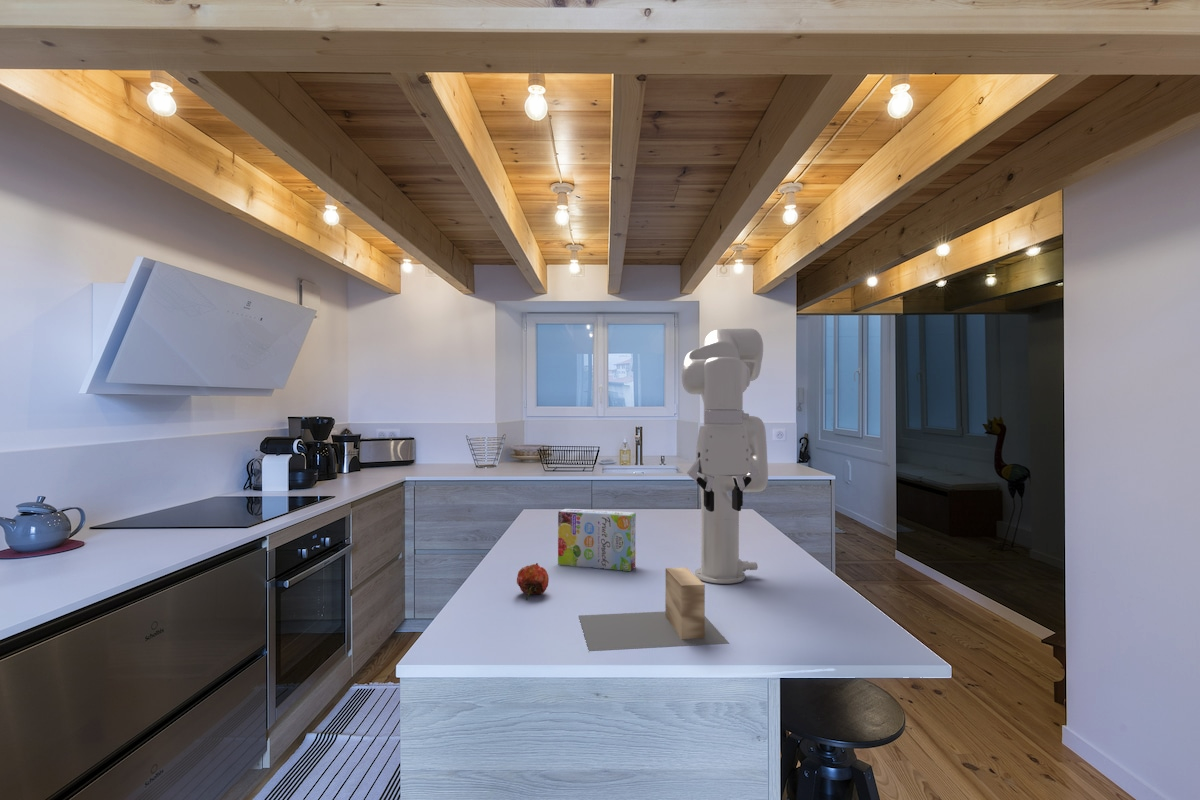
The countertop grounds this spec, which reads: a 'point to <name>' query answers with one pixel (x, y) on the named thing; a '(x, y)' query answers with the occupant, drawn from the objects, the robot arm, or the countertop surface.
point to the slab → (685, 603)
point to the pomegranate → (532, 579)
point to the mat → (639, 632)
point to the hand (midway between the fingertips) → (723, 509)
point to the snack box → (597, 539)
